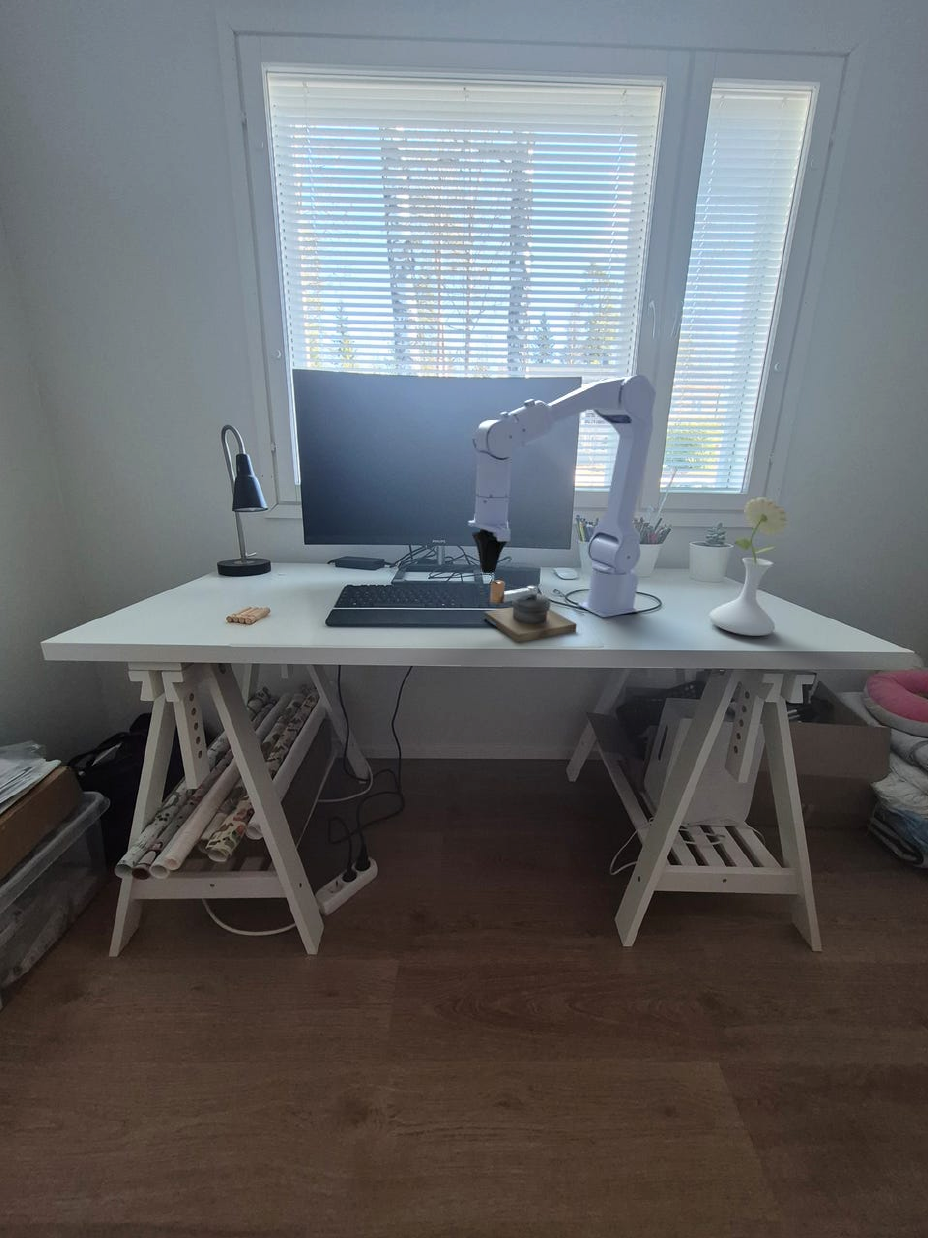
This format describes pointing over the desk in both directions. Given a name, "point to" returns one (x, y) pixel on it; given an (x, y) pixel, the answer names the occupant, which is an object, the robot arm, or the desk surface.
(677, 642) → the desk surface
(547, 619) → the wooden base with cylinder
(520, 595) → the hammer
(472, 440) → the robot arm
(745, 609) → the flower in vase
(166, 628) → the desk surface
